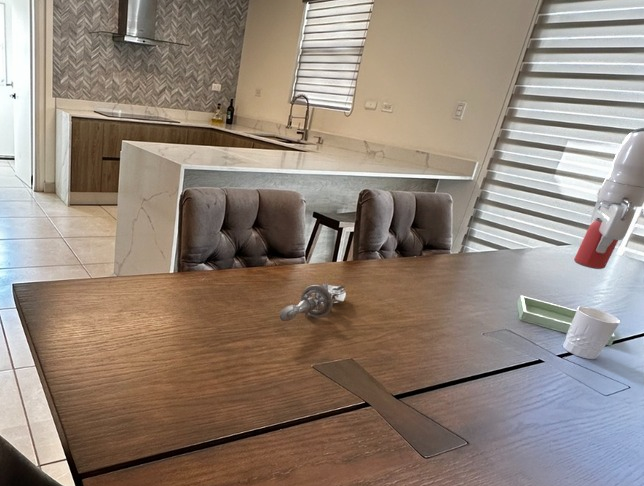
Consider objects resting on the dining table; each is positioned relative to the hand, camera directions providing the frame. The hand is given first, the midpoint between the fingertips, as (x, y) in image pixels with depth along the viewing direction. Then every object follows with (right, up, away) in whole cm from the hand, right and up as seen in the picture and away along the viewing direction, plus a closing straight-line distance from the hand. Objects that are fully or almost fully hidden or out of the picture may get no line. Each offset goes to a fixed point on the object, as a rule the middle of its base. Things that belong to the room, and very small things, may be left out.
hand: (596, 248), depth 120 cm
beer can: (-1, -4, +2) cm, 5 cm away
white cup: (-12, -25, -9) cm, 29 cm away
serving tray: (-5, -20, +6) cm, 21 cm away
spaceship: (-75, -17, -8) cm, 77 cm away
